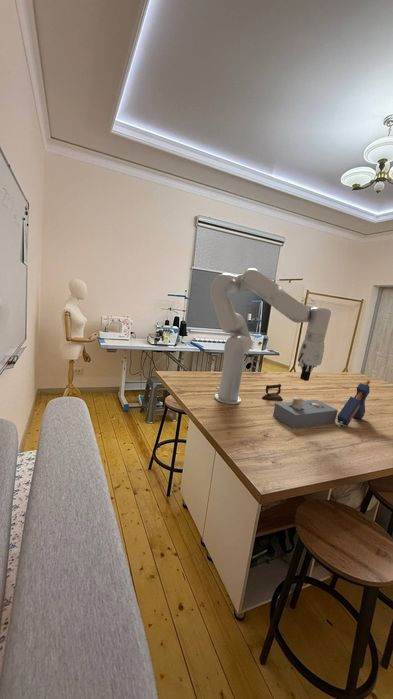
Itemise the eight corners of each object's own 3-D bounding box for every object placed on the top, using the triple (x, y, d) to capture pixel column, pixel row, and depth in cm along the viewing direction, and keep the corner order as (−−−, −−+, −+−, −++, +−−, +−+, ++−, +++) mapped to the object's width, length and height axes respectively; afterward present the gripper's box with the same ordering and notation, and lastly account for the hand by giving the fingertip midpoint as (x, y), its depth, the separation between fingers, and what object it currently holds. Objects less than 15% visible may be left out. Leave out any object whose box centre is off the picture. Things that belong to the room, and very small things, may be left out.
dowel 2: (307, 413, 131) (309, 403, 130) (314, 412, 134) (316, 402, 132) (315, 417, 128) (317, 407, 127) (321, 416, 130) (324, 406, 129)
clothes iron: (283, 401, 149) (285, 384, 145) (266, 407, 144) (267, 390, 140) (274, 394, 155) (276, 378, 151) (257, 400, 150) (258, 384, 146)
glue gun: (335, 442, 132) (333, 422, 124) (359, 396, 147) (358, 375, 138) (349, 448, 128) (348, 427, 120) (372, 399, 143) (372, 378, 134)
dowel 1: (288, 408, 124) (290, 397, 123) (295, 407, 127) (298, 396, 126) (296, 412, 121) (298, 401, 120) (303, 411, 123) (305, 400, 122)
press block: (272, 415, 127) (275, 403, 125) (313, 411, 139) (315, 399, 138) (293, 428, 116) (296, 415, 115) (334, 422, 129) (337, 410, 128)
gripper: (309, 339, 111) (299, 383, 115) (334, 340, 118) (323, 382, 122) (295, 334, 117) (285, 377, 121) (318, 336, 125) (308, 376, 129)
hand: (304, 379), depth 122 cm, fingers closed
